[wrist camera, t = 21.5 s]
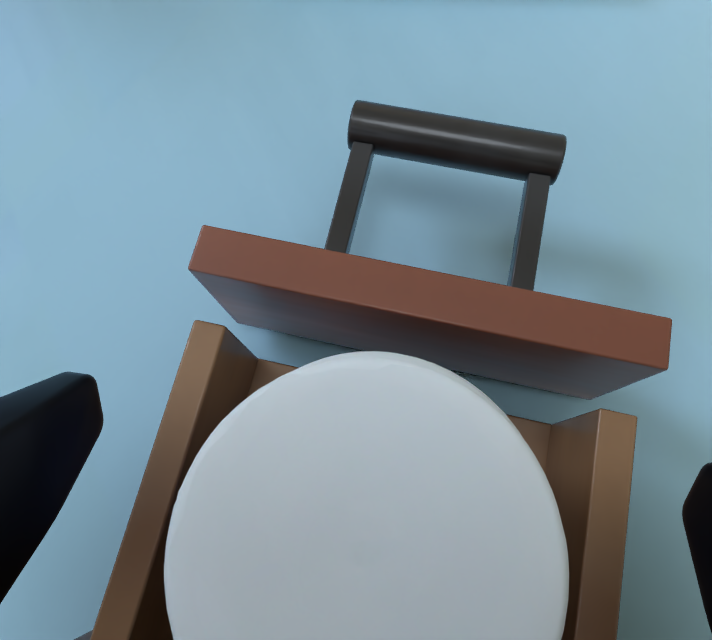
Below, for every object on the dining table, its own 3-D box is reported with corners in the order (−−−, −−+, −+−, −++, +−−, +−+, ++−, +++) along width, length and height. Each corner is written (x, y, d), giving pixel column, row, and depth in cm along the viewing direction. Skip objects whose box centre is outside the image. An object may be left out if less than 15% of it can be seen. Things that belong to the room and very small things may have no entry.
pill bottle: (345, 666, 14) (269, 1077, 4) (238, 478, 15) (2, 476, 6) (519, 538, 14) (783, 650, 5) (400, 369, 16) (430, 205, 6)
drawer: (291, 142, 19) (264, 40, 15) (613, 200, 18) (690, 108, 13) (128, 677, 15) (18, 763, 10) (543, 801, 13) (622, 957, 9)
